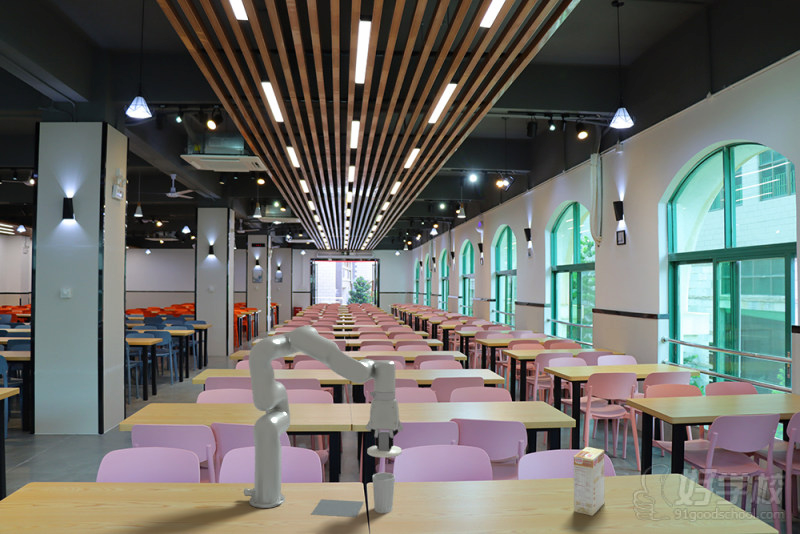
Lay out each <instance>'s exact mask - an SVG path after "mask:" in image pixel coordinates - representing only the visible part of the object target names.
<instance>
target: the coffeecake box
mask: <svg viewBox="0 0 800 534" xmlns="http://www.w3.org/2000/svg"><path fill="white" fill-rule="evenodd" d="M605 503H606V500H605V449H602V448H601V449H600V448H595V447H589V446H585V447H584V448H583V449H581V450H580V451H579V452H578V453H576V454H575V455H574V456H573V512H575V513H579V514H584V515H588V516H592V517H593V516H594V515H595V514H596V513H597V512H598V511H599V510H601V508H602V506H604V505H605Z"/></svg>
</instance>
